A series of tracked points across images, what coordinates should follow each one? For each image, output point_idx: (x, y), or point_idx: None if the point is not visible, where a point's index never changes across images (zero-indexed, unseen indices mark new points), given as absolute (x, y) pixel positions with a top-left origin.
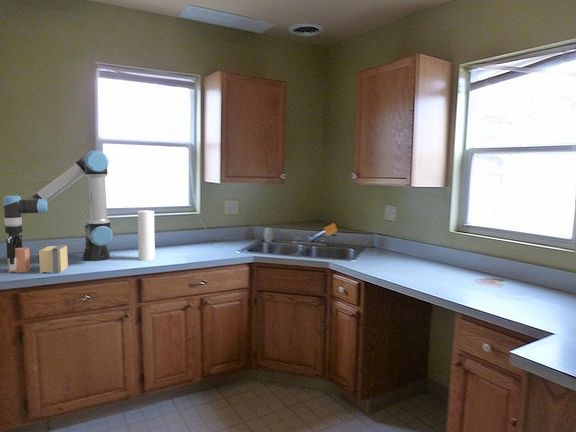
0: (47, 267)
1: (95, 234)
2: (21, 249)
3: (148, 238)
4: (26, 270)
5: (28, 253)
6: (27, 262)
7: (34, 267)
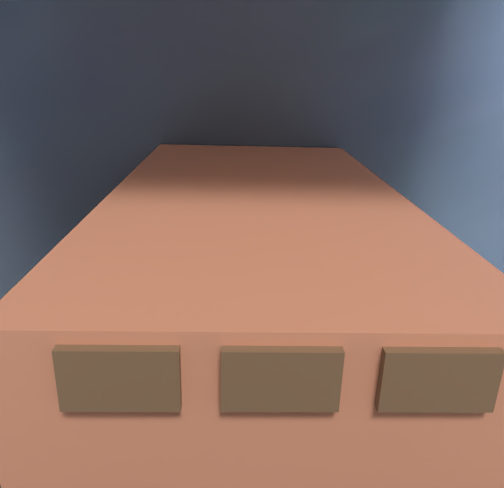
0: None
1: None
2: (467, 473)
3: None
4: (314, 150)
5: (153, 232)
6: (260, 175)
7: (14, 125)
